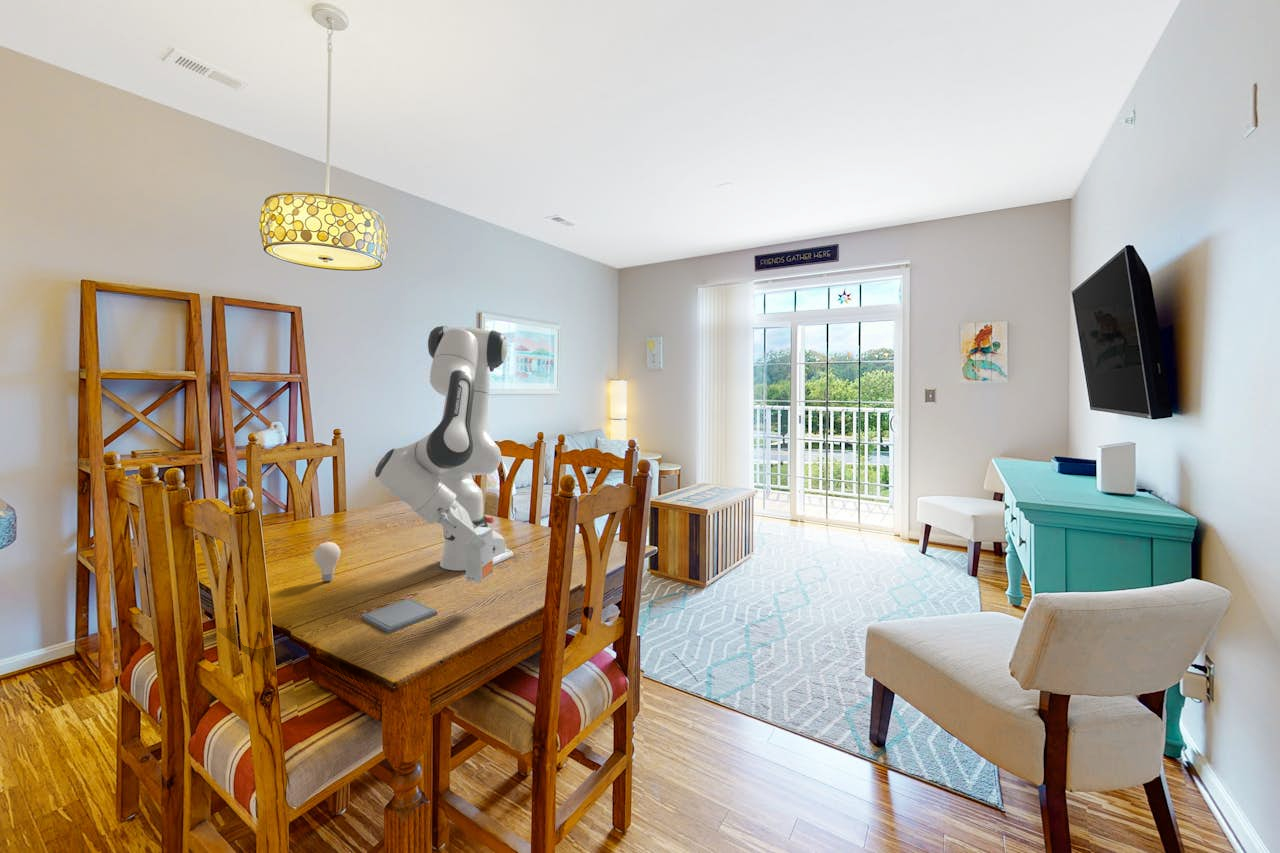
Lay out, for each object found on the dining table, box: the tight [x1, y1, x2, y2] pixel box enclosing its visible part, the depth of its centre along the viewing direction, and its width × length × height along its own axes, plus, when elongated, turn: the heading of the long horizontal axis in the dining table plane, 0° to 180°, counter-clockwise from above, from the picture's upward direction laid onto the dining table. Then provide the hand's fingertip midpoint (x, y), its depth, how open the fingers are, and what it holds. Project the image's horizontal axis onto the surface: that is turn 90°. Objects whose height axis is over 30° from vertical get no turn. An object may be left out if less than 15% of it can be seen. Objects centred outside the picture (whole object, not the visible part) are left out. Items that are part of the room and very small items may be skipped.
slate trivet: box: [360, 598, 438, 634], centre depth 124 cm, size 12×12×1 cm
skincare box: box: [465, 527, 494, 583], centre depth 128 cm, size 6×4×12 cm
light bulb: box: [312, 541, 342, 582], centre depth 144 cm, size 7×7×11 cm
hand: (481, 539), depth 128 cm, fingers closed on skincare box, 7 cm apart
